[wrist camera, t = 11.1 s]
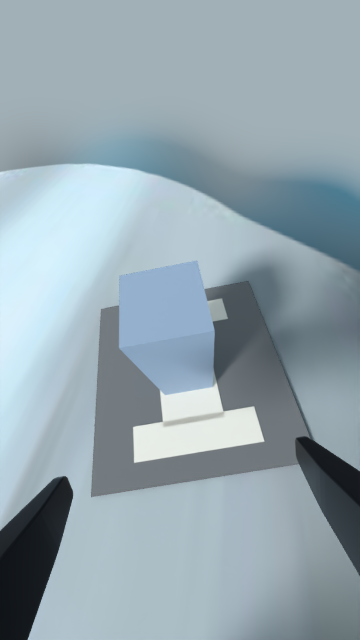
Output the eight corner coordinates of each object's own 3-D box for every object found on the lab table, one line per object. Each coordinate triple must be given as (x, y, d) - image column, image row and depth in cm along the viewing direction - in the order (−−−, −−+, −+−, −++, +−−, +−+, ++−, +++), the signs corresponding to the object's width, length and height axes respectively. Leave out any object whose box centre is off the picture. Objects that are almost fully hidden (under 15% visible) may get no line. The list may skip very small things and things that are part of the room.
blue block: (203, 343, 25) (197, 260, 13) (212, 387, 22) (214, 331, 11) (160, 350, 25) (119, 275, 14) (165, 395, 22) (119, 348, 11)
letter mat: (247, 282, 29) (248, 280, 28) (317, 460, 19) (319, 460, 18) (102, 310, 29) (100, 308, 29) (93, 495, 19) (90, 497, 19)
